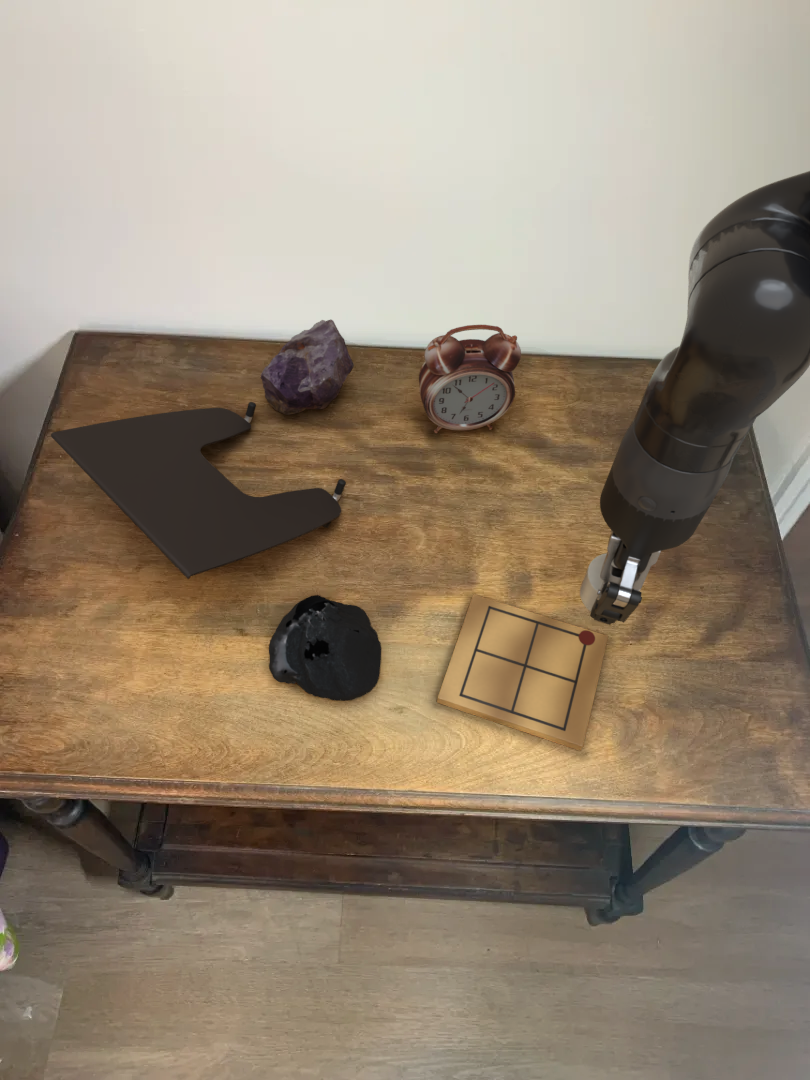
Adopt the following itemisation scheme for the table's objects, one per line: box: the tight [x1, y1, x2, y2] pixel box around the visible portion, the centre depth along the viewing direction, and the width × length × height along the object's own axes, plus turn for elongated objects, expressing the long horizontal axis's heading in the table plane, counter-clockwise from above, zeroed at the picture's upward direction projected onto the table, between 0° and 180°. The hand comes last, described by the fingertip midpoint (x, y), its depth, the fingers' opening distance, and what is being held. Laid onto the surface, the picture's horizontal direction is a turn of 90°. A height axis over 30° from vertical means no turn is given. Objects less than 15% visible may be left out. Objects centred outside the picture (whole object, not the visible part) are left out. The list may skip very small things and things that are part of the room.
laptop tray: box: [50, 401, 347, 580], centre depth 86 cm, size 23×23×9 cm
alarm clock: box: [418, 324, 522, 434], centre depth 91 cm, size 11×5×15 cm, turn 97°
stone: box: [579, 552, 642, 613], centre depth 72 cm, size 5×5×3 cm
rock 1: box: [260, 319, 355, 416], centre depth 95 cm, size 12×9×10 cm
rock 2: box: [268, 594, 382, 702], centre depth 78 cm, size 9×10×10 cm
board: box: [436, 593, 609, 751], centre depth 79 cm, size 14×12×1 cm
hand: (608, 591), depth 73 cm, fingers closed on stone, 4 cm apart
